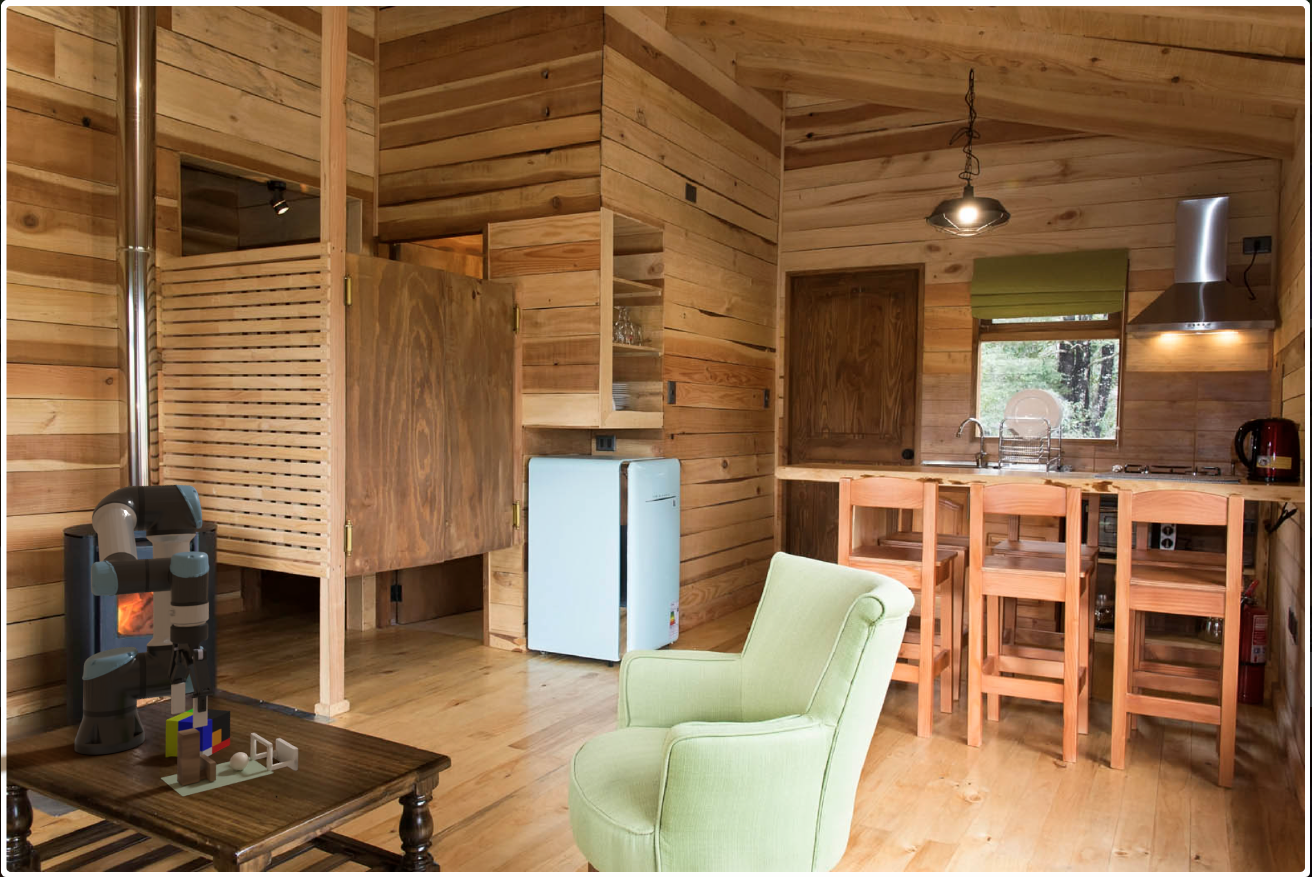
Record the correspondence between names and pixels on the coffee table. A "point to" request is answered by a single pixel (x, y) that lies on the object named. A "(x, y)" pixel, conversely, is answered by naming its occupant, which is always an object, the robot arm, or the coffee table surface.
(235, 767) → the ball
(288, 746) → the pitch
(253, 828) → the coffee table surface
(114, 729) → the robot arm
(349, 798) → the coffee table surface
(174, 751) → the puzzle toy
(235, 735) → the coffee table surface
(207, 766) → the kicker
